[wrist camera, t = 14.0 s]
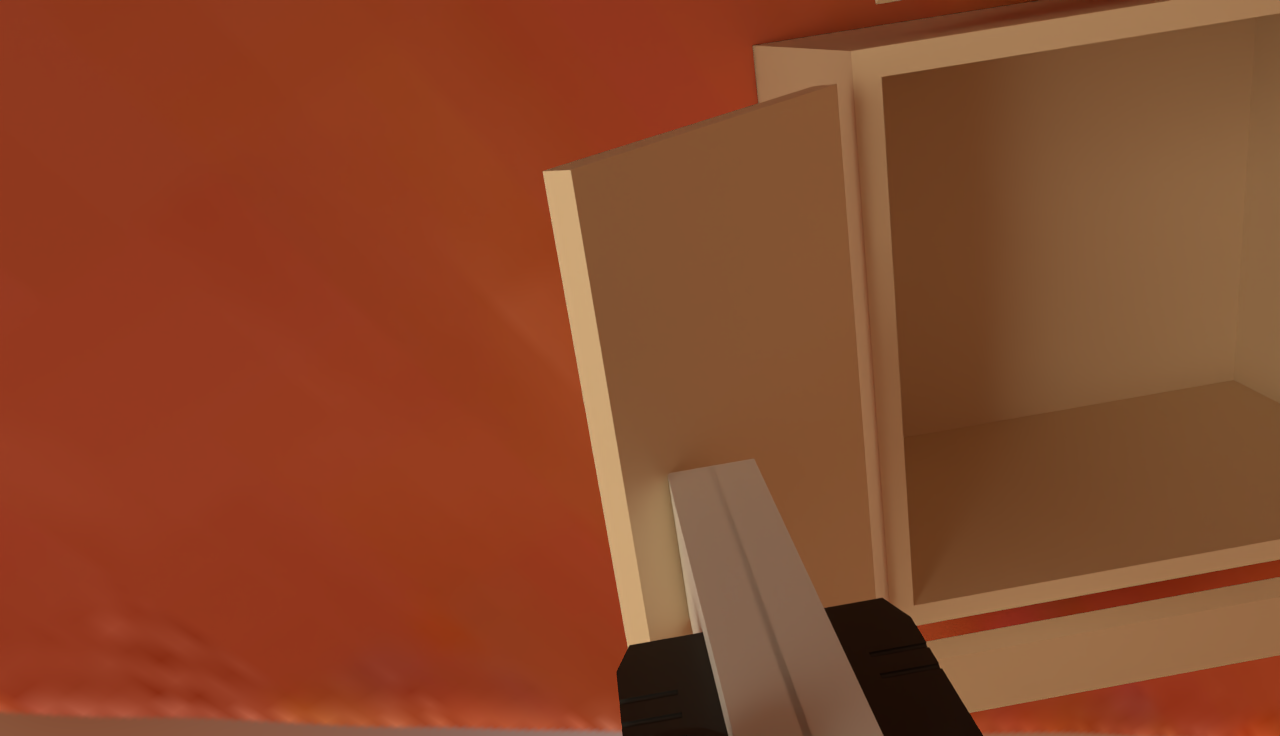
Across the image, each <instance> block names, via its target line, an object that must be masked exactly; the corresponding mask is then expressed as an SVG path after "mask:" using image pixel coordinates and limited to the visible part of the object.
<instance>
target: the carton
mask: <svg viewBox="0 0 1280 736" xmlns="http://www.w3.org/2000/svg"><path fill="white" fill-rule="evenodd" d="M753 55H754V65H755V74H756V84H757V94H758V103H761V102H765V101H768V100H771V99H774V98H777V97H780V96H784V95H787V94H790V93H793V92H796V91H800V90H803V89H806V88H809V87H812V86H820V85H831V84H837V92H838V105H839V118H840V131H841V145H842V158H843V171H844V184H845V197H846V211H847V224H848V237H849V250H850V263H851V277H852V290H853V303H854V316H855V329H856V342H857V356H858V369H859V382H860V395H861V408H862V422H863V435H864V448H865V461H866V474H867V488H868V501H869V514H870V527H871V540H872V553H873V567H874V580H875V593H876V599H878V598H884V599H885V600H887V601H888V602H890V603H891V604H893V605H894V606H895V607H897V608H898V609H900V610H901V611H903V612H904V613H906V614H907V615H909V616H910V617H911V618H912V620H913V621H914V623H915V625H916V626H917V625H923V624H928V623H934V622H939V621H945V620H950V619H956V618H961V617H967V616H972V615H978V614H983V613H989V612H994V611H1000V610H1005V609H1011V608H1016V607H1022V606H1027V605H1033V604H1038V603H1043V602H1049V601H1054V600H1060V599H1065V598H1071V597H1076V596H1082V595H1087V594H1093V593H1098V592H1104V591H1109V590H1115V589H1120V588H1126V587H1131V586H1137V585H1142V584H1148V583H1153V582H1159V581H1164V580H1170V579H1175V578H1181V577H1186V576H1192V575H1197V574H1203V573H1208V572H1214V571H1219V570H1225V569H1230V568H1236V567H1241V566H1246V565H1252V564H1257V563H1263V562H1268V561H1274V560H1279V559H1280V0H1037V1H1031V2H1025V3H1018V4H1012V5H1006V6H999V7H993V8H987V9H980V10H974V11H968V12H961V13H955V14H949V15H942V16H936V17H930V18H923V19H917V20H911V21H904V22H898V23H892V24H885V25H879V26H873V27H866V28H860V29H854V30H847V31H841V32H835V33H828V34H822V35H815V36H809V37H803V38H796V39H790V40H784V41H777V42H771V43H765V44H758V45H753Z"/></svg>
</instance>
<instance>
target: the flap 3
mask: <svg viewBox="0 0 1280 736" xmlns="http://www.w3.org/2000/svg"><path fill="white" fill-rule="evenodd" d="M926 644H927V647H929V648H930V649H931V651H932V653H933V654H934V656H935V657H936V659H937V661H938V662H939V666H940V669H941V668H942V669H943V671H944V672H945V674H946V676H947V677H948V679H949V681H950V682H951V684H952V685H953V687H954V689H955V690H956V692H957V694H958V695H959V697H960V699H961V700H962V702H963V704H964V705H965V707H966V708H967V710H968V712H969V713H971V712H977V711H982V710H987V709H993V708H998V707H1004V706H1009V705H1014V704H1020V703H1025V702H1030V701H1036V700H1041V699H1046V698H1052V697H1057V696H1063V695H1068V694H1073V693H1079V692H1084V691H1089V690H1095V689H1100V688H1106V687H1111V686H1116V685H1122V684H1127V683H1132V682H1138V681H1143V680H1149V679H1154V678H1159V677H1165V676H1170V675H1175V674H1181V673H1186V672H1192V671H1197V670H1202V669H1208V668H1213V667H1218V666H1224V665H1229V664H1234V663H1240V662H1245V661H1251V660H1256V659H1261V658H1267V657H1272V656H1277V655H1280V577H1277V578H1272V579H1266V580H1261V581H1255V582H1250V583H1244V584H1239V585H1233V586H1228V587H1223V588H1217V589H1212V590H1206V591H1201V592H1195V593H1190V594H1184V595H1179V596H1173V597H1168V598H1162V599H1157V600H1151V601H1146V602H1141V603H1135V604H1130V605H1124V606H1119V607H1113V608H1108V609H1102V610H1097V611H1091V612H1086V613H1080V614H1075V615H1069V616H1064V617H1059V618H1053V619H1048V620H1042V621H1037V622H1031V623H1026V624H1020V625H1015V626H1009V627H1004V628H998V629H993V630H988V631H982V632H977V633H971V634H966V635H960V636H955V637H949V638H944V639H938V640H933V641H927V642H926Z"/></svg>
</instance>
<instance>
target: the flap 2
mask: <svg viewBox="0 0 1280 736" xmlns="http://www.w3.org/2000/svg"><path fill="white" fill-rule="evenodd" d="M894 1H900V0H875V2H876V4H881V3H888V2H894Z"/></svg>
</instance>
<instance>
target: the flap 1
mask: <svg viewBox="0 0 1280 736" xmlns="http://www.w3.org/2000/svg"><path fill="white" fill-rule="evenodd" d="M543 176H544V181H545V187H546V193H547V198H548V204H549V209H550V215H551V221H552V226H553V232H554V237H555V243H556V249H557V254H558V260H559V265H560V271H561V277H562V282H563V288H564V293H565V299H566V304H567V310H568V316H569V321H570V327H571V332H572V338H573V344H574V349H575V355H576V360H577V366H578V372H579V377H580V383H581V388H582V394H583V400H584V405H585V411H586V416H587V422H588V428H589V433H590V439H591V444H592V450H593V455H594V461H595V467H596V472H597V478H598V483H599V489H600V495H601V500H602V506H603V511H604V517H605V523H606V528H607V534H608V539H609V545H610V551H611V556H612V562H613V567H614V573H615V579H616V584H617V590H618V595H619V601H620V606H621V612H622V618H623V623H624V629H625V634H626V640H627V646H628V647H629V645H633V644H639V643H645V642H650V641H656V640H662V639H667V638H673V637H679V636H684V635H690V634H693V631H692V626H691V622H690V617H689V611H688V604H687V598H686V591H685V585H684V578H683V572H682V565H681V559H680V552H679V546H678V539H677V533H676V527H675V520H674V514H673V507H672V501H671V494H670V488H669V481H668V474H669V473H673V472H678V471H684V470H690V469H696V468H702V467H707V466H713V465H719V464H725V463H730V462H736V461H742V460H748V459H755V461H756V464H757V466H758V468H759V470H760V472H761V474H762V476H763V479H764V481H765V483H766V485H767V487H768V489H769V491H770V494H771V496H772V498H773V500H774V502H775V504H776V506H777V509H778V511H779V513H780V515H781V517H782V519H783V521H784V524H785V526H786V528H787V530H788V532H789V534H790V536H791V539H792V541H793V543H794V545H795V547H796V549H797V551H798V554H799V556H800V558H801V560H802V562H803V564H804V566H805V569H806V571H807V573H808V575H809V577H810V579H811V581H812V584H813V586H814V588H815V590H816V592H817V594H818V596H819V599H820V601H821V603H822V605H823V607H824V608H827V607H832V606H838V605H844V604H849V603H855V602H861V601H866V600H872V599H876V593H875V580H874V567H873V553H872V540H871V527H870V514H869V501H868V488H867V474H866V461H865V448H864V435H863V422H862V408H861V395H860V382H859V369H858V356H857V342H856V329H855V316H854V303H853V290H852V277H851V263H850V250H849V237H848V224H847V211H846V197H845V184H844V171H843V158H842V145H841V131H840V118H839V105H838V92H837V84H831V85H820V86H812V87H809V88H806V89H803V90H800V91H796V92H793V93H790V94H787V95H784V96H780V97H777V98H774V99H771V100H768V101H765V102H761V103H758V104H755V105H752V106H749V107H745V108H742V109H739V110H736V111H733V112H730V113H726V114H723V115H720V116H717V117H714V118H710V119H707V120H704V121H701V122H698V123H695V124H691V125H688V126H685V127H682V128H679V129H675V130H672V131H669V132H666V133H663V134H660V135H656V136H653V137H650V138H647V139H644V140H640V141H637V142H634V143H631V144H628V145H625V146H621V147H618V148H615V149H612V150H609V151H606V152H602V153H599V154H596V155H593V156H590V157H586V158H583V159H580V160H577V161H574V162H571V163H567V164H564V165H561V166H558V167H555V168H551V169H548V170H545V171H543Z"/></svg>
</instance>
